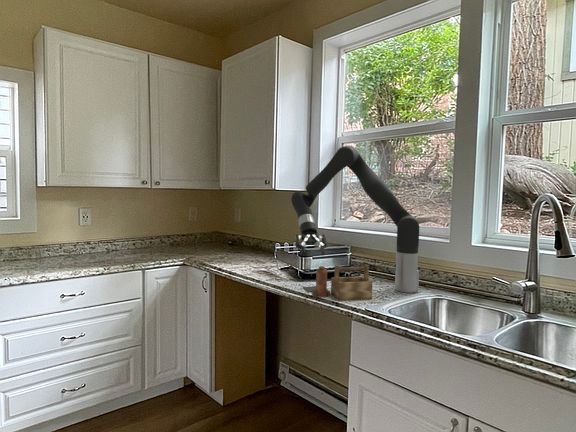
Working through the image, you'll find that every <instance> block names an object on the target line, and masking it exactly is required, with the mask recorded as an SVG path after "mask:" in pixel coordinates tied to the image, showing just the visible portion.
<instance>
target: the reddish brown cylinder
mask: <svg viewBox="0 0 576 432" xmlns="http://www.w3.org/2000/svg"><path fill="white" fill-rule="evenodd" d="M315 273H316V274H315V275H316V277H315V286H316V291H317V292H318V297H317V298H321V297H322V298H323V297H324V298H325V297H327V296H326V294H327V289H328V269H326V267H325V266H318V268H316V272H315Z"/></svg>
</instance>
